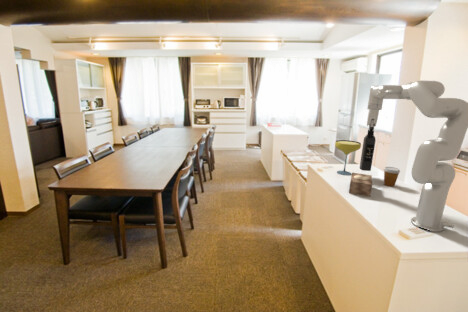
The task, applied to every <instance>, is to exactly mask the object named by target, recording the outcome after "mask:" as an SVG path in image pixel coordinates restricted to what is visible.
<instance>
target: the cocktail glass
mask: <svg viewBox="0 0 468 312" xmlns="http://www.w3.org/2000/svg"><path fill="white" fill-rule="evenodd" d="M334 145H335V147H336V148H337V150H339V151H341V152H342V153H343V154H344V155H345V160H344V167H343V170H338V171H336V173H337V174H338V175H342V176H352V172H351V171H346V165H347V156H348V155H350V154H351V153H353V152H357V151H359V150H360V149H361V147H362V144H361V142H359V141H355V140H345V139H343V140H342V139H339V140H336V141H335V143H334Z"/></svg>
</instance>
